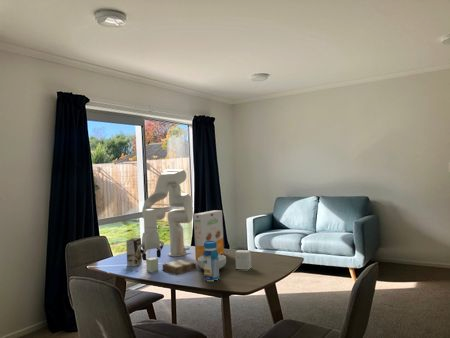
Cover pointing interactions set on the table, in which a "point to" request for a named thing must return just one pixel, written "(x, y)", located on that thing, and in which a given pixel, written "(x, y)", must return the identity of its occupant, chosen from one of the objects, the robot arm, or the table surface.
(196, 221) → the cereal box
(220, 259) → the cereal bowl
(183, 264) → the base
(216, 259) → the beverage bottle
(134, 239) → the coffee box
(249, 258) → the small box
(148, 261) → the block
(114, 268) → the table surface
